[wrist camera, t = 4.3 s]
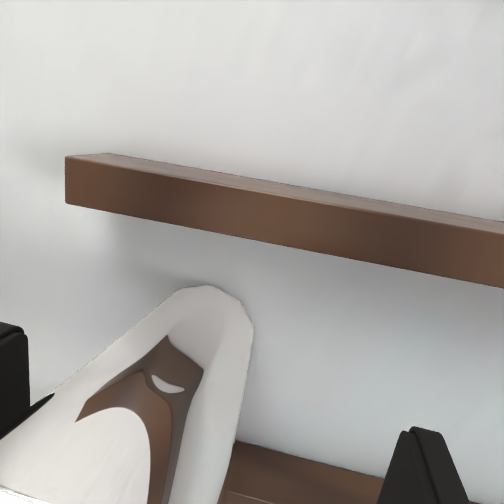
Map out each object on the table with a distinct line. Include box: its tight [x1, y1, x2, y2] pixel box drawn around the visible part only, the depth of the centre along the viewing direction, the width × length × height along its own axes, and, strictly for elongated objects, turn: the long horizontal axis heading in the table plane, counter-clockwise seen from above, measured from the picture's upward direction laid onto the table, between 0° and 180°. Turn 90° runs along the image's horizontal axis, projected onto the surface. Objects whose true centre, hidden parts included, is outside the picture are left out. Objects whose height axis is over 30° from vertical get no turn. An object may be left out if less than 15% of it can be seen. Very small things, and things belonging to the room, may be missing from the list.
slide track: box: [65, 153, 504, 504], centre depth 10 cm, size 24×10×2 cm, turn 81°
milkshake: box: [0, 285, 254, 504], centre depth 7 cm, size 5×5×10 cm
